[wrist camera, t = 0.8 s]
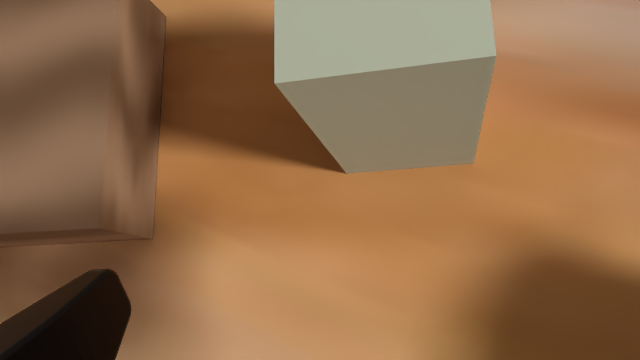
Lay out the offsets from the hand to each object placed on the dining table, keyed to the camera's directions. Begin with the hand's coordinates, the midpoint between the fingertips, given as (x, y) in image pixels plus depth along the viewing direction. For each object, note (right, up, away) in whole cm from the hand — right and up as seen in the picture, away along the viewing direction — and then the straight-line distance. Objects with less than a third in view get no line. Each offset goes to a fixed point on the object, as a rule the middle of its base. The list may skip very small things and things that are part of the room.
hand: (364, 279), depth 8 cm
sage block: (+3, +5, +14) cm, 15 cm away
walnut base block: (-15, +4, +18) cm, 24 cm away
